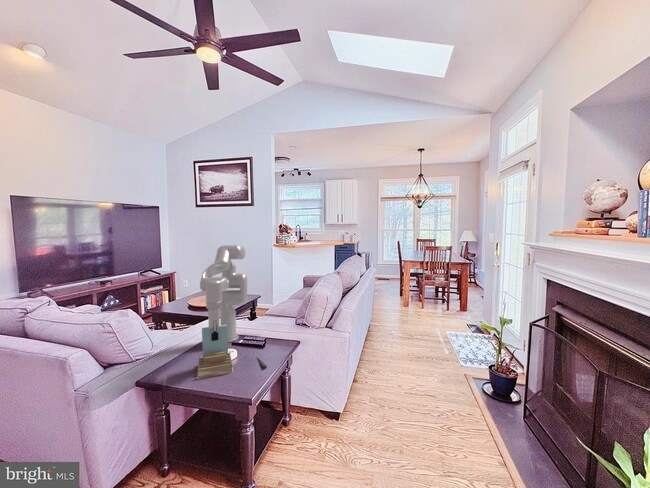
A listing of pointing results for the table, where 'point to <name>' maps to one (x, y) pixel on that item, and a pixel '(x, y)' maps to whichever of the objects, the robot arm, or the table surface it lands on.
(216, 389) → the table surface
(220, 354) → the offcut
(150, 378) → the table surface
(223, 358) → the offcut
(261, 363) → the phone
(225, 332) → the tall sheet
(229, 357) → the rack
